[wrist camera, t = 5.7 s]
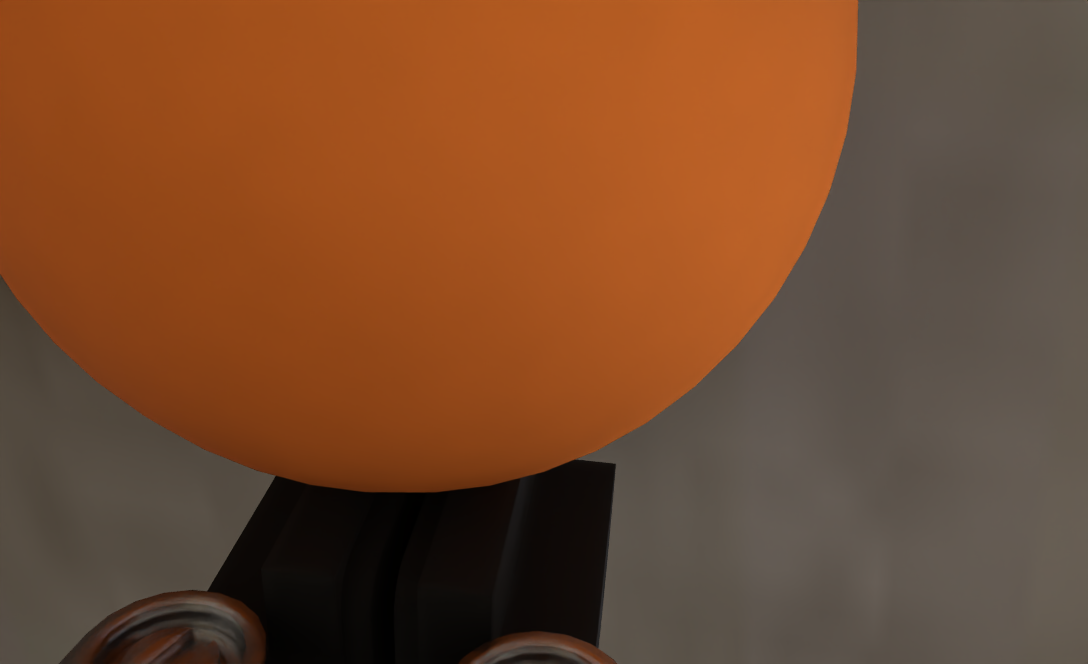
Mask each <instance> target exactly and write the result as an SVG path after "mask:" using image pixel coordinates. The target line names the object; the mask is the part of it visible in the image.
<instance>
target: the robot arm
mask: <svg viewBox="0 0 1088 664" xmlns="http://www.w3.org/2000/svg"><path fill="white" fill-rule="evenodd" d="M615 468H616V464H613V463H603V462H593V461H584V460H572V461H570V462H567V463H565V464H562V465H560V466H557V467H555V468H552V469H550V470H547V471H545V472H541V473H537V474H533V475H529V476H525V477H522V478H518V479H514V480H510V481H506V482H502V483H498V484H494V485H490V486H483V487H475V488H466V489H458V490H450V491H442V492H361V491H354V490H346V489H339V488H331V487H324V486H316V485H310V484H306V483H302V482H298V481H294V480H291V479H287V478H283V477H279V476H276V477H275V478H274V480H273V482H272V483H271V485H270V487H269V489H268V490H267V492H266V494H265V495H264V497H263V499H262V500H261V502H260V504H259V505H258V507H257V509H256V510H255V512H254V514H253V515H252V517H251V519H250V520H249V522H248V524H247V525H246V527H245V529H244V530H243V532H242V534H241V536H240V537H239V539H238V541H237V542H236V544H235V546H234V547H233V549H232V551H231V552H230V554H229V556H228V557H227V559H226V561H225V562H224V564H223V566H222V567H221V569H220V571H219V572H218V574H217V576H216V577H215V579H214V581H213V582H212V584H211V586H210V588H209V589H208V591H198V590H187V591H177V592H168V593H162V594H159V595H155V596H152V597H149V598H145V599H142V600H139V601H135V602H133V603H131V604H130V605H128V606H126V607H124V608H122V609H120V610H118V611H116V612H114V613H112V614H111V615H109V616H107V617H106V618H105V619H104V620H103V621H101V622H100V623H99V624H98V625H97V626H95V627H94V628H93V629H92V630H91V631H89V632H88V633H87V634H86V635H85V636H84V637H83V638H82V639H81V640H80V641H79V643H78V644H77V645H76V646H75V647H74V648H73V649H72V650H71V651H70V652H69V653H68V654H67V655H66V657H65V658H64V659H63V660H62V661H61V662H60V663H59V664H617V663H616V662H615V661H614V659H612V658H611V657H609V656H608V655H606V654H605V653H604V652H602V651H601V650H599V649H598V647H599V637H600V628H601V618H602V608H603V598H604V588H605V578H606V568H607V557H608V547H609V536H610V525H611V514H612V503H613V491H614V480H615Z"/></svg>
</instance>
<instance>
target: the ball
mask: <svg viewBox="0 0 1088 664" xmlns="http://www.w3.org/2000/svg"><path fill="white" fill-rule="evenodd" d="M857 21H858V0H0V274H1V276H2V277H3V279H4V280H5V282H6V283H7V285H8V286H9V288H10V289H11V291H12V292H13V294H14V295H15V297H16V298H17V300H18V301H19V302H20V303H21V304H22V305H23V307H24V308H25V309H26V310H27V311H28V312H29V314H30V315H31V316H32V317H33V318H34V319H35V321H36V322H37V323H38V324H39V325H40V326H41V328H42V329H43V330H44V331H45V332H46V333H47V335H48V336H49V337H50V338H51V339H52V340H53V342H54V343H55V344H56V345H57V346H59V347H60V348H61V349H62V350H63V351H64V352H65V353H66V354H67V355H68V356H69V357H70V358H72V359H73V360H74V361H75V362H76V363H77V364H78V365H79V366H80V367H81V368H82V369H84V370H85V371H86V372H87V373H88V374H89V375H90V376H91V377H92V378H93V379H94V380H95V381H97V382H98V383H99V384H101V385H102V386H104V387H105V388H106V389H108V390H109V391H110V392H112V393H113V394H115V395H116V396H117V397H119V398H120V399H122V400H123V401H124V402H126V403H127V404H128V405H130V406H131V407H133V408H134V409H135V410H137V411H138V412H140V413H141V414H142V415H144V416H146V417H147V418H149V419H151V420H152V421H154V422H155V423H157V424H159V425H161V426H163V427H164V428H166V429H168V430H170V431H172V432H174V433H175V434H177V435H179V436H181V437H183V438H184V439H186V440H188V441H190V442H192V443H194V444H195V445H197V446H199V447H201V448H203V449H204V450H207V451H209V452H212V453H214V454H217V455H219V456H222V457H224V458H227V459H229V460H232V461H234V462H237V463H239V464H242V465H244V466H247V467H249V468H252V469H254V470H257V471H260V472H264V473H268V474H272V475H276V476H279V477H283V478H287V479H291V480H294V481H298V482H302V483H306V484H310V485H316V486H324V487H331V488H339V489H346V490H354V491H361V492H442V491H450V490H458V489H466V488H475V487H483V486H490V485H494V484H498V483H502V482H506V481H510V480H514V479H518V478H522V477H525V476H529V475H533V474H537V473H541V472H545V471H547V470H550V469H552V468H555V467H557V466H560V465H562V464H565V463H567V462H570V461H572V460H575V459H577V458H580V457H582V456H585V455H587V454H590V453H592V452H595V451H597V450H599V449H600V448H602V447H604V446H606V445H608V444H609V443H611V442H613V441H615V440H617V439H618V438H620V437H622V436H624V435H625V434H627V433H629V432H631V431H633V430H634V429H636V428H638V427H640V426H642V425H643V424H645V423H647V422H648V421H649V420H651V419H652V418H653V417H655V416H656V415H657V414H659V413H660V412H661V411H663V410H664V409H666V408H667V407H668V406H670V405H671V404H672V403H674V402H675V401H676V400H678V399H679V398H680V397H682V396H683V395H684V394H686V393H687V392H688V391H690V390H691V389H692V388H693V387H694V386H696V385H697V384H698V383H699V382H700V381H701V380H702V379H703V378H704V377H705V376H706V375H707V374H708V373H709V372H710V371H711V370H712V369H713V368H714V367H715V366H716V365H717V364H718V363H719V362H720V361H721V360H722V359H723V358H724V357H725V356H726V355H727V354H728V353H730V352H731V351H732V350H733V349H734V348H735V347H736V346H737V345H738V343H739V342H740V341H741V340H742V338H743V337H744V336H745V335H746V333H747V332H748V331H749V330H750V328H751V327H752V326H753V325H754V323H755V322H756V321H757V320H758V318H759V317H760V316H761V314H762V313H763V312H764V311H765V309H766V308H767V307H768V306H769V304H770V303H771V302H772V301H773V299H774V298H775V296H776V295H777V293H778V291H779V290H780V288H781V286H782V285H783V283H784V282H785V280H786V278H787V277H788V275H789V273H790V272H791V270H792V268H793V267H794V265H795V263H796V262H797V260H798V258H799V257H800V255H801V253H802V252H803V250H804V248H805V246H806V244H807V242H808V240H809V237H810V235H811V233H812V230H813V228H814V226H815V224H816V221H817V219H818V217H819V214H820V212H821V210H822V208H823V205H824V203H825V201H826V198H827V196H828V194H829V191H830V188H831V184H832V181H833V178H834V174H835V171H836V167H837V164H838V161H839V157H840V154H841V150H842V147H843V143H844V140H845V137H846V133H847V126H848V120H849V114H850V107H851V101H852V95H853V88H854V82H855V76H856V59H857Z"/></svg>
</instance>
